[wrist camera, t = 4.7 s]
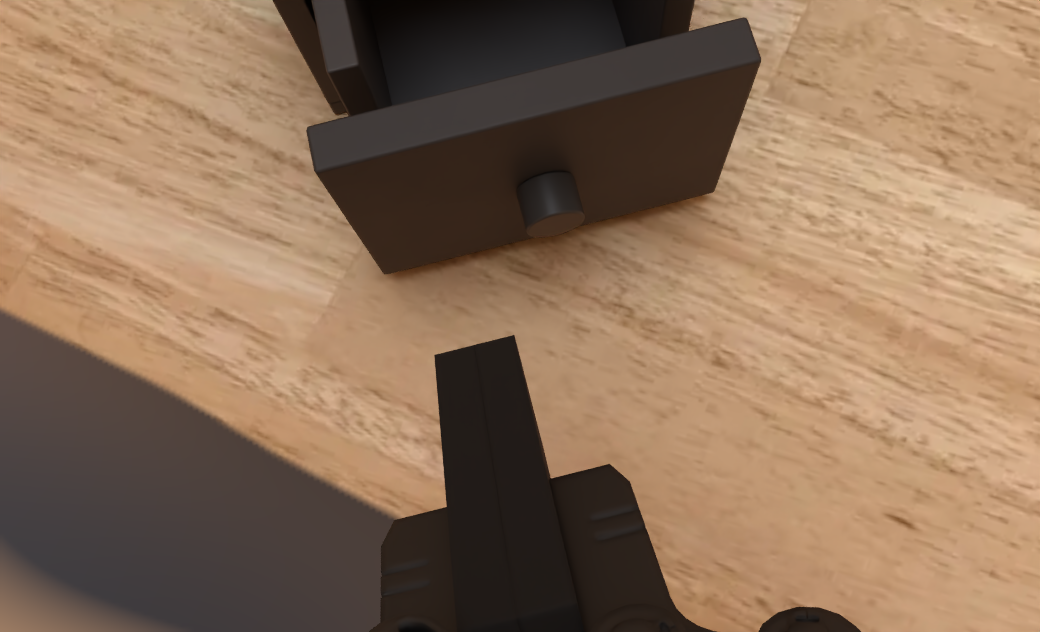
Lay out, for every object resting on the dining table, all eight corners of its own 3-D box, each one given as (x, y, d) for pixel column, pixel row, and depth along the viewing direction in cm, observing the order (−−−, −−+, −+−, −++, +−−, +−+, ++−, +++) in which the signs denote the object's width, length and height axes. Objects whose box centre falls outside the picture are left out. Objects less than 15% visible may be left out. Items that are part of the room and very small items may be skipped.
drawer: (726, 228, 28) (779, 107, 21) (391, 313, 28) (323, 221, 21) (607, -139, 32) (616, -356, 24) (311, -65, 32) (228, -259, 24)
